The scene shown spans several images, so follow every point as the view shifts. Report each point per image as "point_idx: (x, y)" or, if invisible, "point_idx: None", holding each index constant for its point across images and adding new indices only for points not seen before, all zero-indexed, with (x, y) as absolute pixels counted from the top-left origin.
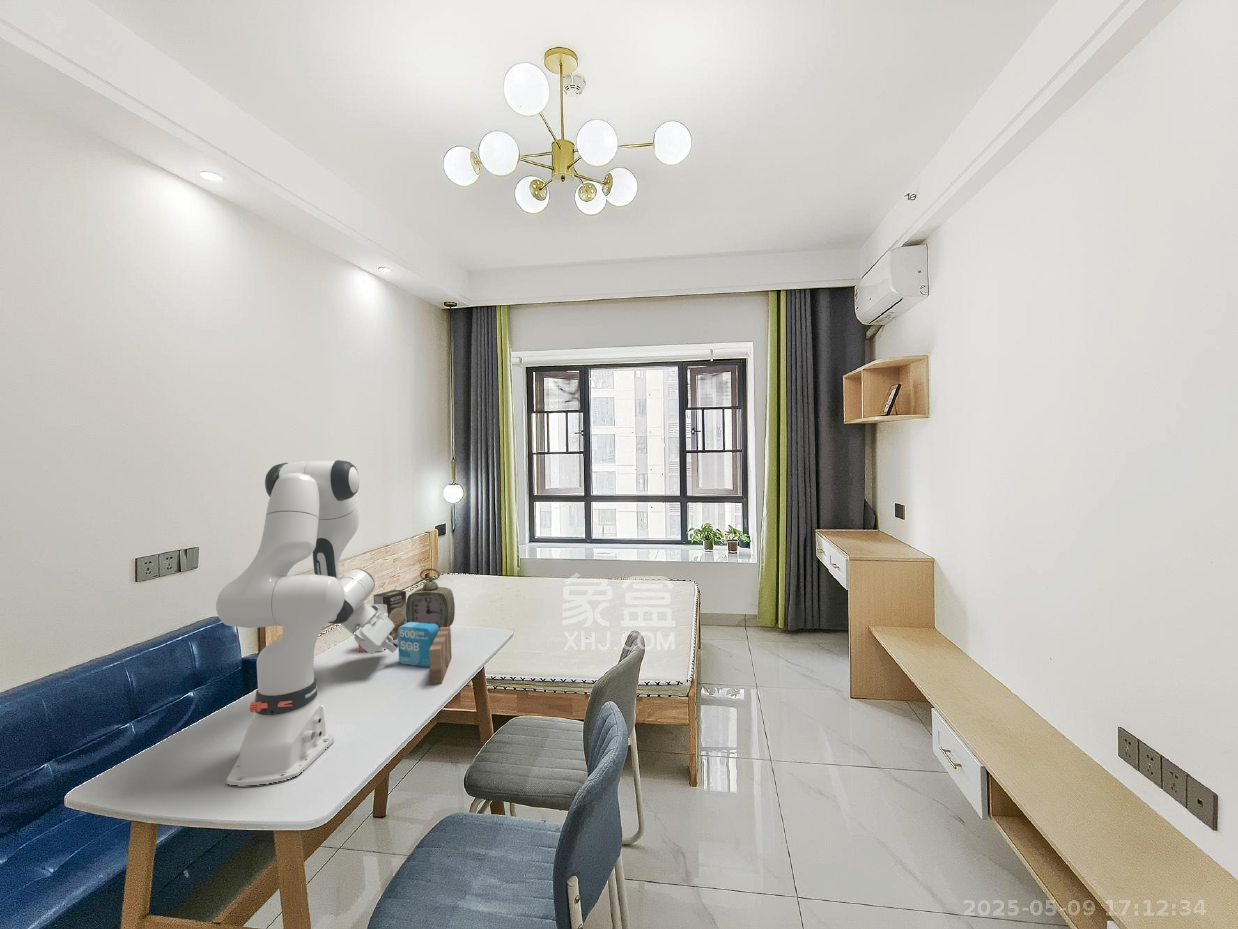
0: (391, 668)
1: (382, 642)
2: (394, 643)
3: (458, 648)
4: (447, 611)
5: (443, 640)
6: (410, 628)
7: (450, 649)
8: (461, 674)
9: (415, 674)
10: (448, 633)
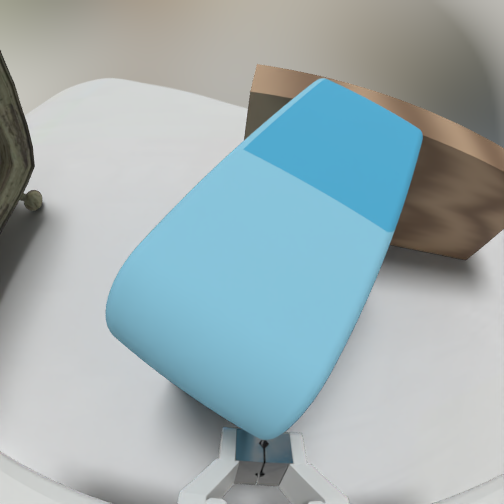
0: None
1: (460, 494)
2: (249, 456)
3: (139, 163)
4: (10, 79)
5: (464, 128)
6: (383, 255)
7: None
8: None
9: (392, 319)
10: None
